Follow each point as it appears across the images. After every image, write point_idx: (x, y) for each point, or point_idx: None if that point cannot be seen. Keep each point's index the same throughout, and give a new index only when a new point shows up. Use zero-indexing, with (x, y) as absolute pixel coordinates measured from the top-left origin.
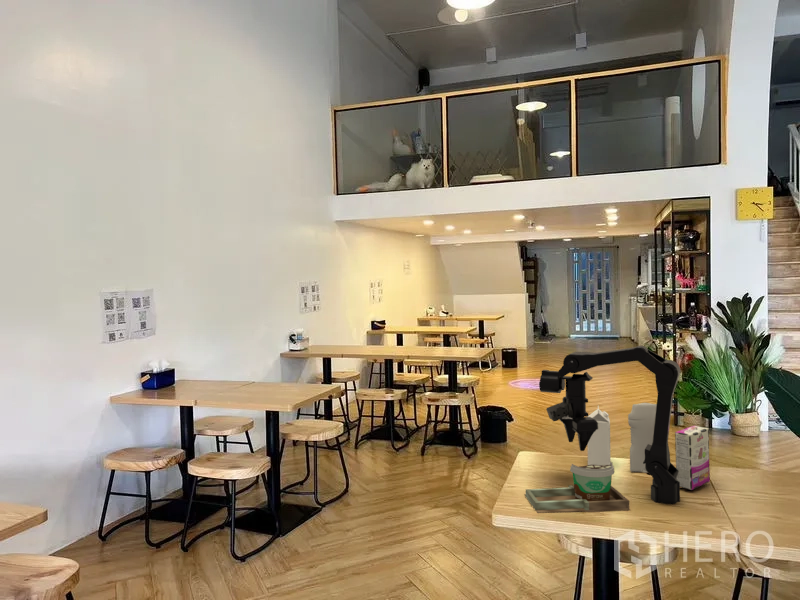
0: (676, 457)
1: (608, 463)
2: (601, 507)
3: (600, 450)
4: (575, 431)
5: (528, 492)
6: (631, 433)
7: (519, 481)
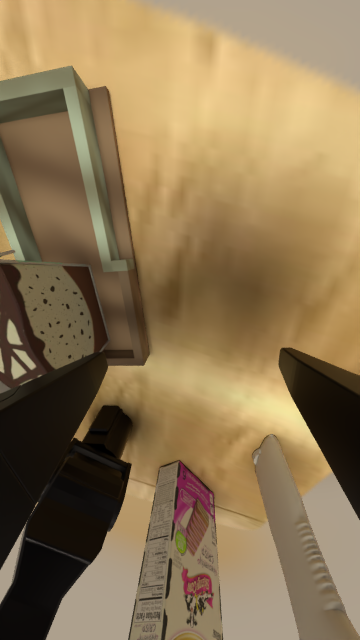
0: (170, 532)
1: None
2: None
3: None
4: (320, 445)
5: (40, 75)
6: (320, 572)
7: (259, 95)
